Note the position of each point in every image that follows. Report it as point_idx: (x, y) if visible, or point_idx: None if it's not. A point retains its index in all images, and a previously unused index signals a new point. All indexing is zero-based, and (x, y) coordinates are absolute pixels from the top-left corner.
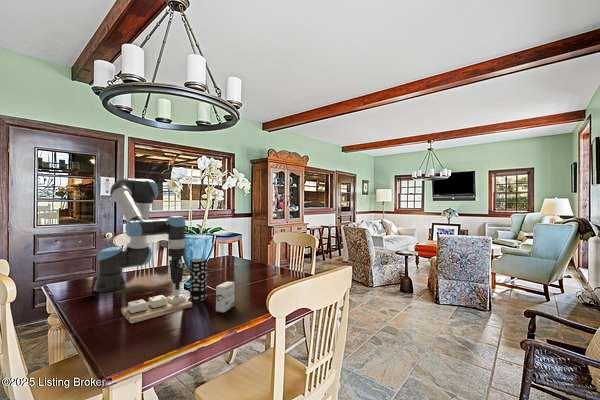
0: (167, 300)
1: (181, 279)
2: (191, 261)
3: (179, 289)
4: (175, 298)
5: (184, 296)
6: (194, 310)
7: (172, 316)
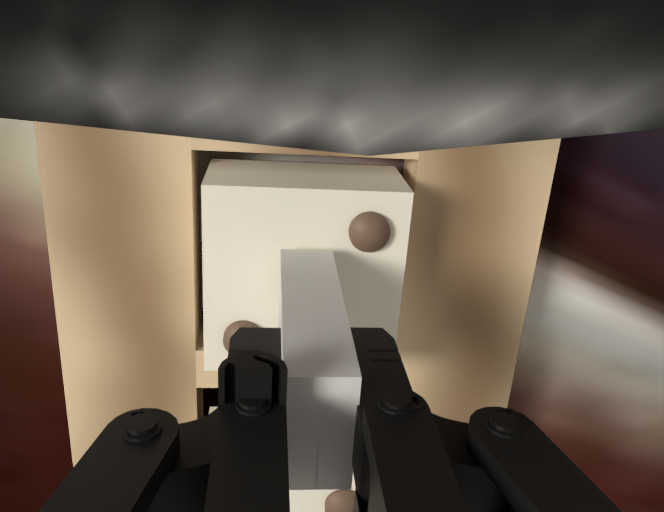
0: (195, 334)
1: (561, 468)
2: (496, 89)
3: (343, 299)
4: (378, 324)
5: (396, 192)
6: (661, 158)
7: (594, 389)
